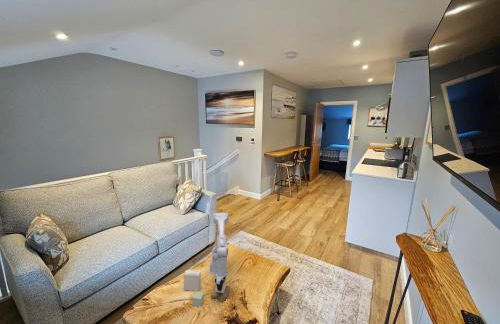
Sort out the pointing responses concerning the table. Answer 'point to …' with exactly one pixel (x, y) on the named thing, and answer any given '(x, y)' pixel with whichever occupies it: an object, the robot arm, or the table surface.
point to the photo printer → (192, 280)
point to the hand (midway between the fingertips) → (220, 287)
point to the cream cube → (222, 287)
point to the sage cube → (198, 298)
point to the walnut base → (220, 294)
